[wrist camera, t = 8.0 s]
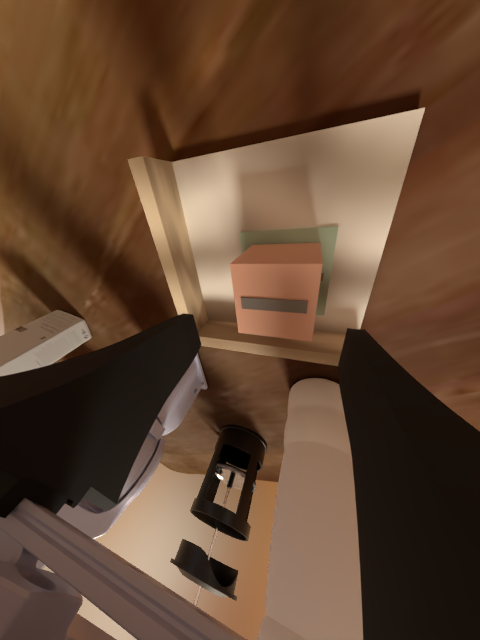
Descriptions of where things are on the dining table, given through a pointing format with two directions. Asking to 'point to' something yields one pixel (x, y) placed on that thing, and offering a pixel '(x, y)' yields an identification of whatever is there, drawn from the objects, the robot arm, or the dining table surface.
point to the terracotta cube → (277, 289)
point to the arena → (279, 223)
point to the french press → (223, 508)
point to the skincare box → (41, 342)
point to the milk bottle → (314, 525)
